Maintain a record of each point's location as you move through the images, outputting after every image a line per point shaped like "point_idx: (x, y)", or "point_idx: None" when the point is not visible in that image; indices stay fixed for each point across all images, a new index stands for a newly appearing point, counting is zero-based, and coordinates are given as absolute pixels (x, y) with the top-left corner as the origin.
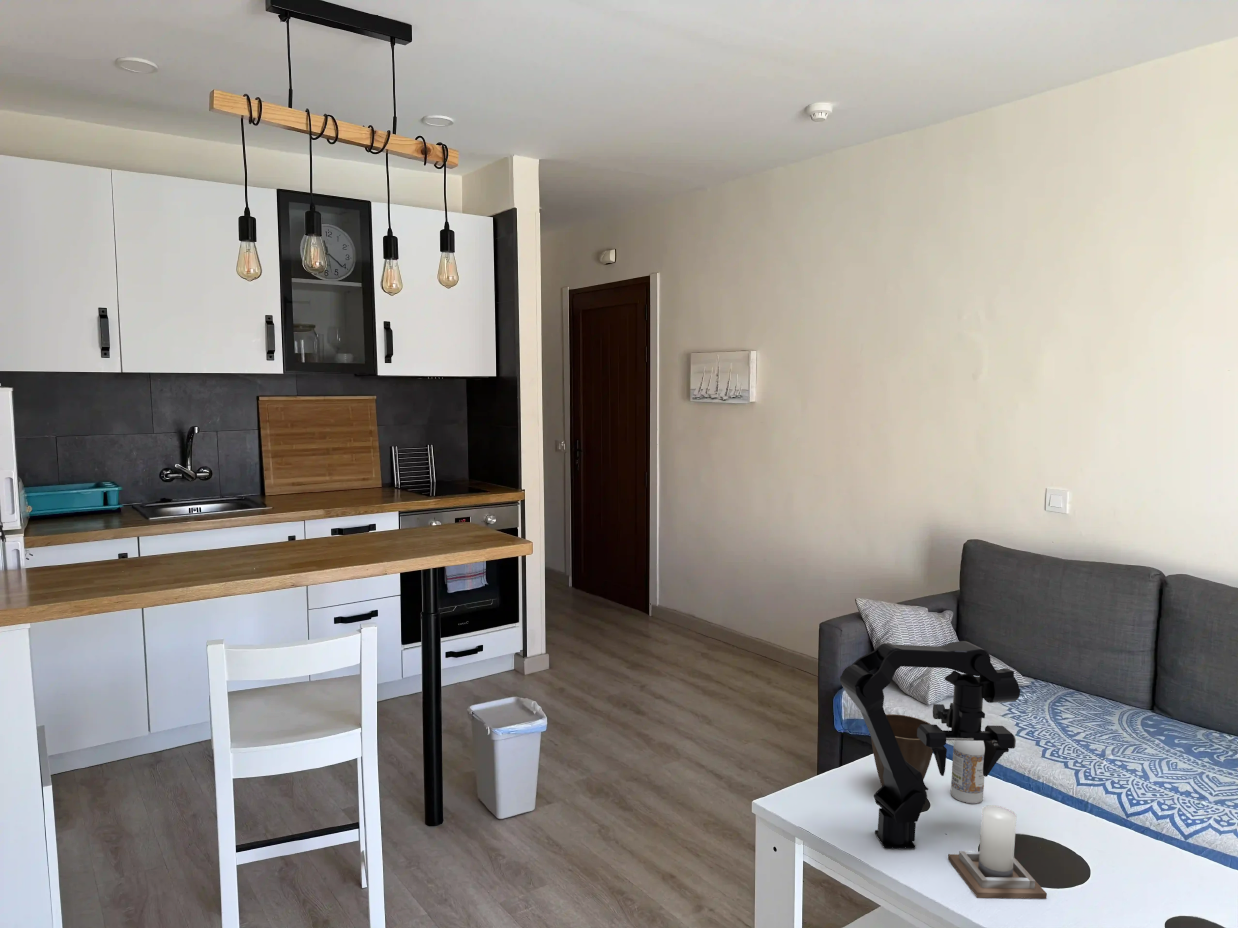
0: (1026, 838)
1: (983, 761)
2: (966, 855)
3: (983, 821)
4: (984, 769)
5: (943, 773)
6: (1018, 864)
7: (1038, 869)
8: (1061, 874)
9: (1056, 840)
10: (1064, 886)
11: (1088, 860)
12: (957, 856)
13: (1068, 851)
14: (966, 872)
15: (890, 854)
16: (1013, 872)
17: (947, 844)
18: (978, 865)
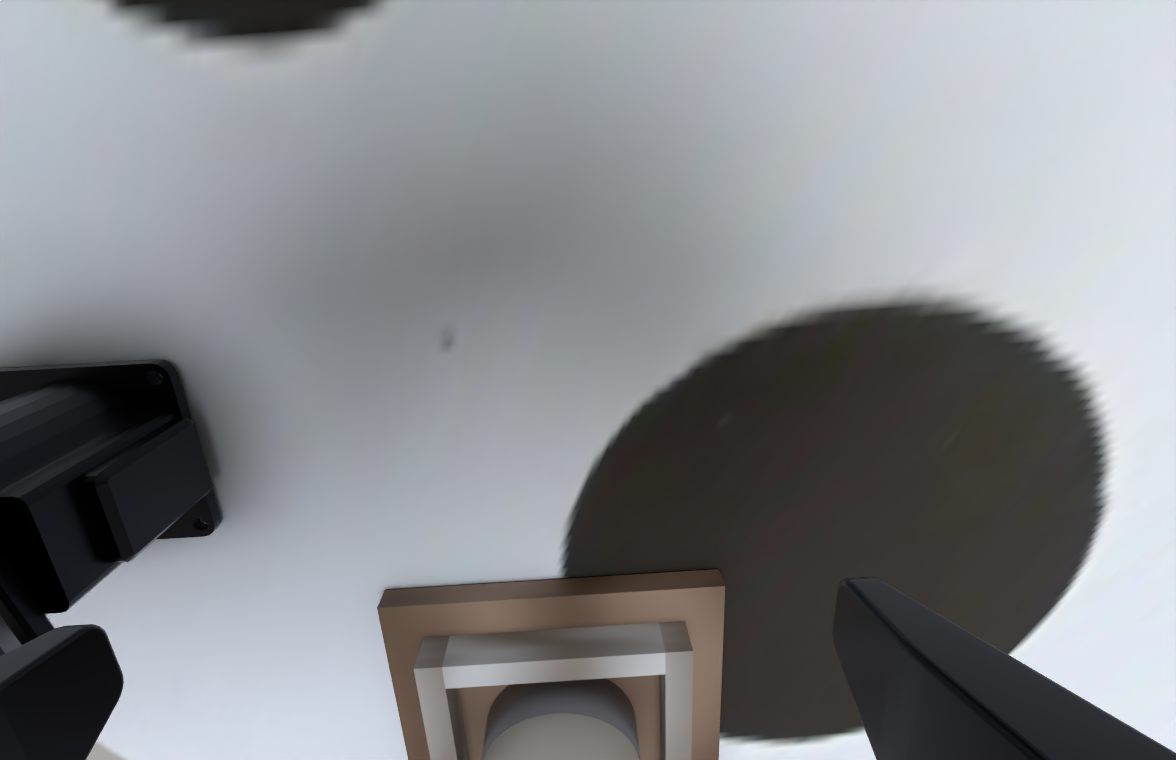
0: (932, 354)
1: (1020, 740)
2: (440, 699)
3: None
4: (891, 697)
5: (79, 747)
6: (681, 741)
7: (803, 630)
8: None
9: (1099, 362)
10: (837, 729)
11: (1111, 540)
12: (422, 620)
13: (1075, 470)
14: (424, 734)
15: None
16: (651, 713)
17: (422, 458)
18: (485, 733)
